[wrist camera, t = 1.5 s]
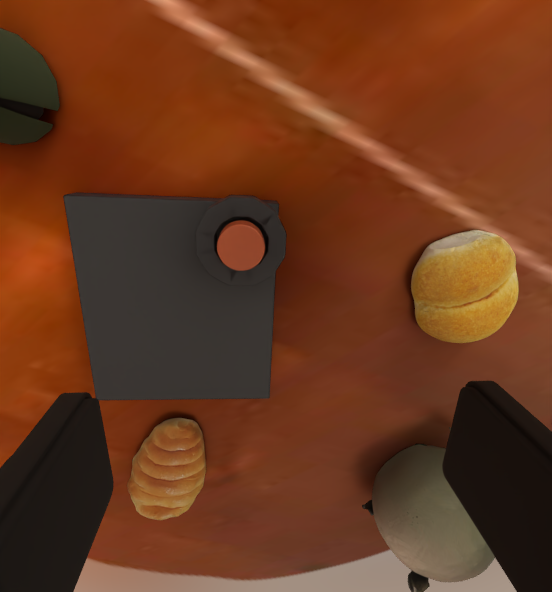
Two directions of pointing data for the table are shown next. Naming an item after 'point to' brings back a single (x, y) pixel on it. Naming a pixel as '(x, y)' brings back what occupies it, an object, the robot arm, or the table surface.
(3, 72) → the character mug
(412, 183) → the table surface
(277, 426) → the table surface
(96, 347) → the scale
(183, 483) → the pastry
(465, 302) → the bread roll
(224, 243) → the button
